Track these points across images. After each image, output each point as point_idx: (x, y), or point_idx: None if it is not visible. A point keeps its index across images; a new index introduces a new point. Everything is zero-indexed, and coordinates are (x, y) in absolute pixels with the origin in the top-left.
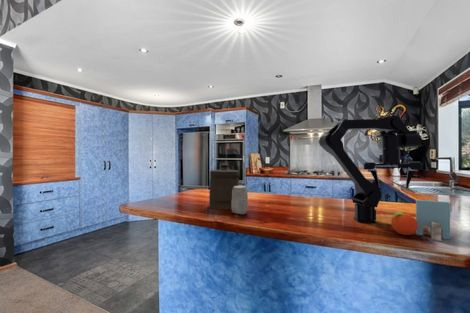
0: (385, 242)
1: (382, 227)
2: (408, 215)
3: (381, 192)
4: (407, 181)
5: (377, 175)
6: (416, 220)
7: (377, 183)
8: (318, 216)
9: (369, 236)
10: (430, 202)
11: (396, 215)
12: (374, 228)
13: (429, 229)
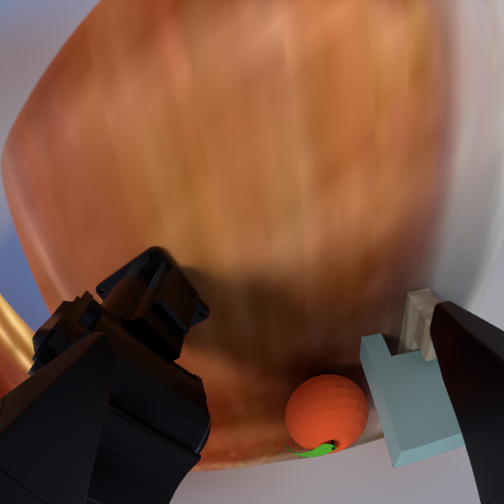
0: (279, 450)
1: (246, 352)
2: (344, 448)
3: (205, 434)
4: (466, 428)
5: (15, 463)
6: (372, 396)
7: (97, 409)
8: (22, 337)
9: (237, 439)
10: (439, 451)
11: (305, 448)
12: (225, 378)
13: (408, 332)
